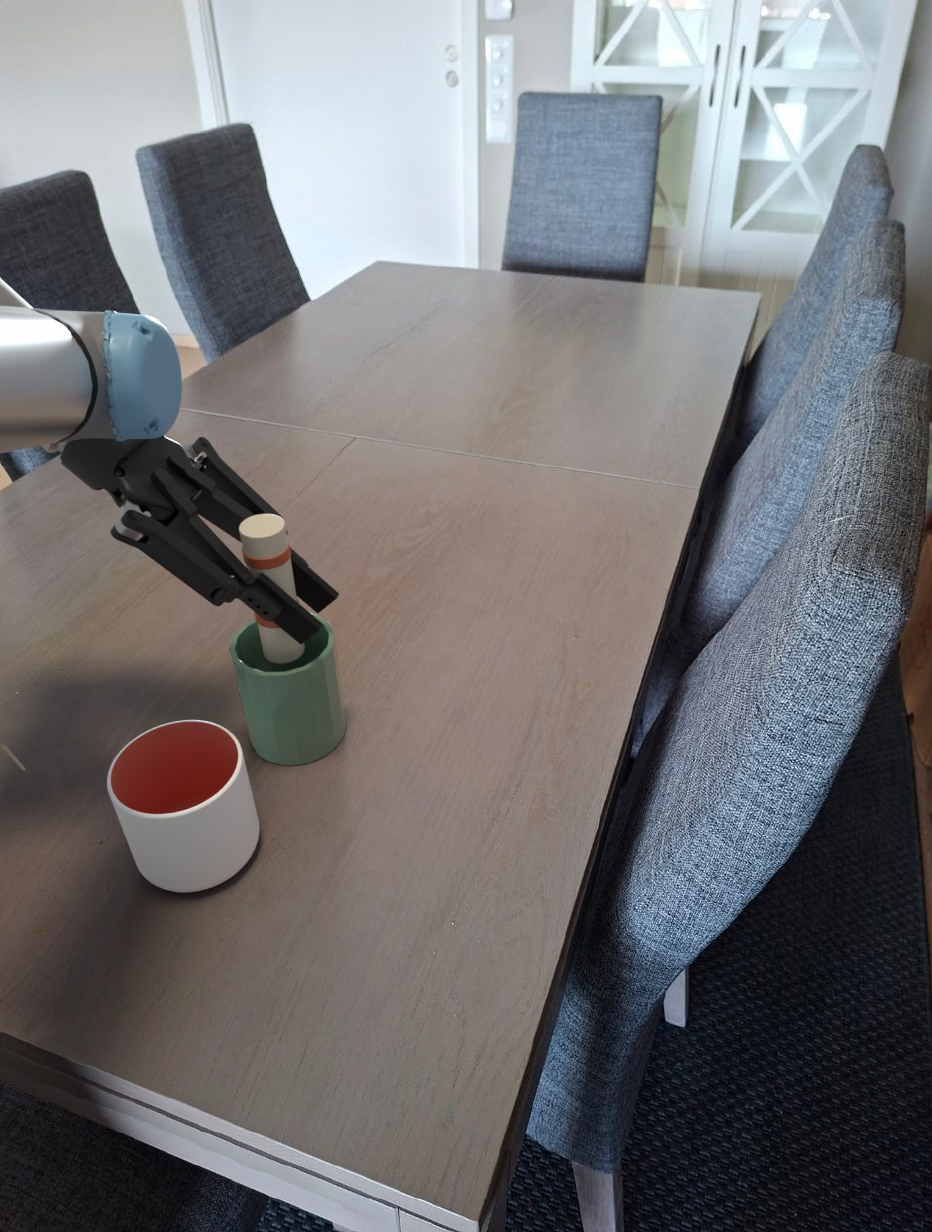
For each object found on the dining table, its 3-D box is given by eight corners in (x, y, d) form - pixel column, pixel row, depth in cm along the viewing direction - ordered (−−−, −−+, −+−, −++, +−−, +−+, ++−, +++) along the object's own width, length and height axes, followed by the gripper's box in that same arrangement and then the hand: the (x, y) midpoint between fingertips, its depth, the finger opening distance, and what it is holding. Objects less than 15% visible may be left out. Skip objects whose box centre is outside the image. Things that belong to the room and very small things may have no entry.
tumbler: (289, 781, 78) (271, 690, 71) (231, 732, 83) (209, 642, 76) (364, 728, 83) (354, 639, 77) (306, 685, 88) (291, 598, 81)
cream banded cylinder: (292, 668, 75) (269, 542, 67) (254, 658, 76) (228, 532, 68) (313, 642, 78) (295, 517, 70) (276, 633, 79) (254, 509, 71)
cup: (112, 880, 70) (77, 797, 64) (182, 789, 77) (157, 707, 71) (221, 915, 67) (196, 832, 61) (283, 817, 75) (266, 735, 69)
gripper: (121, 406, 75) (325, 584, 82) (3, 504, 62) (258, 704, 70) (164, 350, 71) (375, 542, 78) (47, 442, 58) (313, 662, 65)
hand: (319, 618), depth 74 cm, fingers closed on cream banded cylinder, 4 cm apart
